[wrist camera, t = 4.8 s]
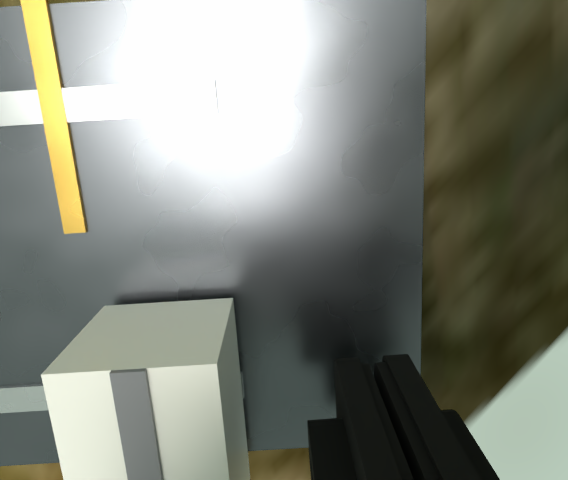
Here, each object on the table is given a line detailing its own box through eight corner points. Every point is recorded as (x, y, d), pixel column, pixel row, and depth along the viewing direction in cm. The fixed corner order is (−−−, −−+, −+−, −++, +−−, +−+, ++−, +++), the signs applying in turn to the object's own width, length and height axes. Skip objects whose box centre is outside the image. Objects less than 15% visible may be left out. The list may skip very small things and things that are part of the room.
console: (391, -22, 12) (429, -67, 9) (392, 400, 15) (420, 469, 12) (-292, 21, 12) (-476, -9, 9) (-150, 433, 16) (-252, 509, 13)
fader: (233, 297, 11) (216, 366, 8) (250, 477, 12) (240, 596, 9) (104, 305, 11) (38, 377, 8) (134, 484, 12) (87, 606, 9)
